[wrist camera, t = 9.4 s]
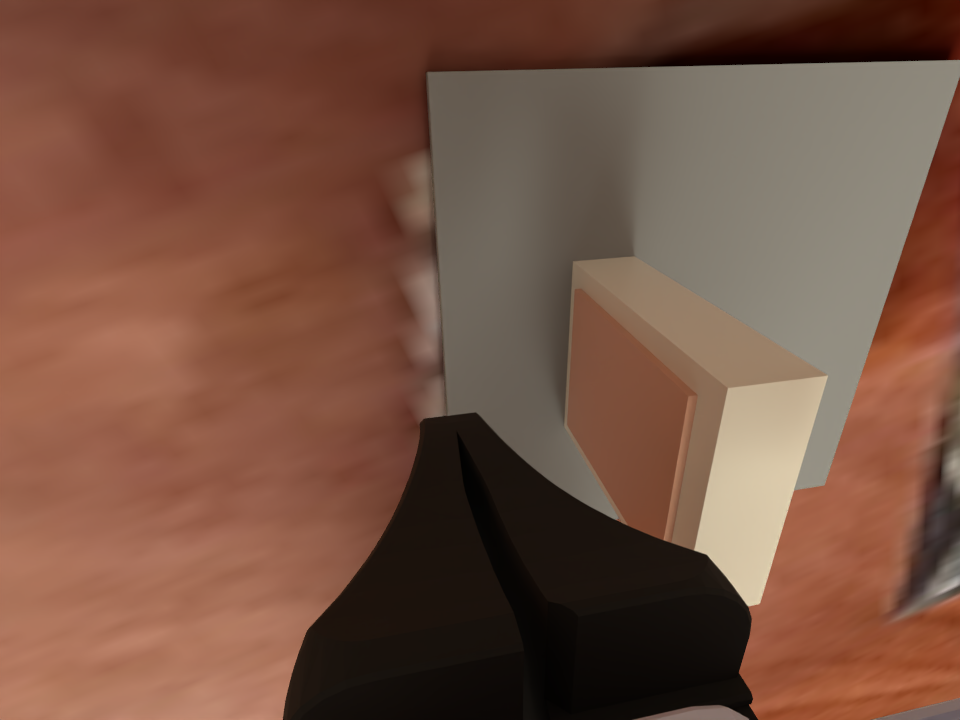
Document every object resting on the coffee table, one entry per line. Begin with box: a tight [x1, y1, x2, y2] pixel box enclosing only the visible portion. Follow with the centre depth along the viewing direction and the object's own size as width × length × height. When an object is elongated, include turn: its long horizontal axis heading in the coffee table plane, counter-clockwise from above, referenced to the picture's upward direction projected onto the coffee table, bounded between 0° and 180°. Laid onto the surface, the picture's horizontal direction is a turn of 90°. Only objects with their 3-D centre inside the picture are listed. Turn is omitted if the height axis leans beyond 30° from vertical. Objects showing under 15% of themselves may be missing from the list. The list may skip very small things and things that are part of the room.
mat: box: [426, 60, 960, 519], centre depth 19 cm, size 16×16×1 cm
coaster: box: [564, 256, 828, 606], centre depth 15 cm, size 6×2×8 cm, turn 1°
